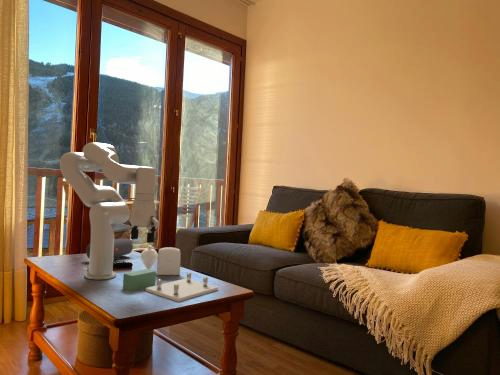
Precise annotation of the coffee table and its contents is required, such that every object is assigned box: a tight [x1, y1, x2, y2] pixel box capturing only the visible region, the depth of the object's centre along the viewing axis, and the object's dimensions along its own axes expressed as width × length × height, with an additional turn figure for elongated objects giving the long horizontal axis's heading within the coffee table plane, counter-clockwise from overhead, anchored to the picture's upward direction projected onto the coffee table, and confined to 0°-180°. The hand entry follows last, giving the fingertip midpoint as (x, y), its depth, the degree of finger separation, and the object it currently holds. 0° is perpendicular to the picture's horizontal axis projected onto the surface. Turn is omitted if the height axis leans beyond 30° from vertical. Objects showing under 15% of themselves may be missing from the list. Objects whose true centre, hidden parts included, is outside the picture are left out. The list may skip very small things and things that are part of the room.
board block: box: [122, 268, 157, 292], centre depth 159 cm, size 5×12×6 cm, turn 144°
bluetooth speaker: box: [85, 238, 134, 260], centre depth 205 cm, size 23×9×10 cm, turn 149°
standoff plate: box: [144, 272, 219, 303], centre depth 158 cm, size 18×22×5 cm
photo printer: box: [156, 246, 182, 276], centre depth 181 cm, size 10×4×12 cm, turn 100°
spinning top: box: [140, 244, 158, 270], centre depth 185 cm, size 8×8×12 cm
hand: (142, 240), depth 159 cm, fingers open, 9 cm apart
